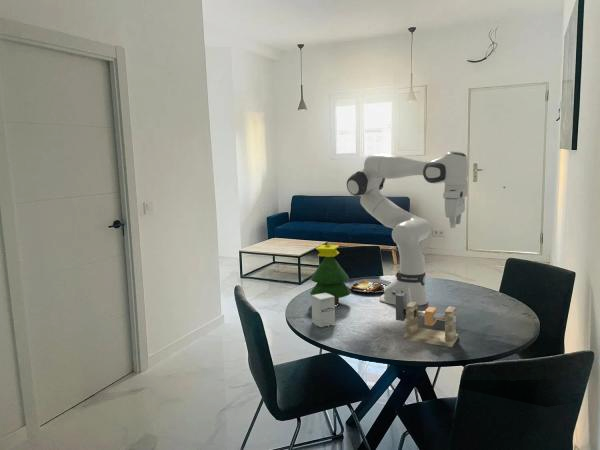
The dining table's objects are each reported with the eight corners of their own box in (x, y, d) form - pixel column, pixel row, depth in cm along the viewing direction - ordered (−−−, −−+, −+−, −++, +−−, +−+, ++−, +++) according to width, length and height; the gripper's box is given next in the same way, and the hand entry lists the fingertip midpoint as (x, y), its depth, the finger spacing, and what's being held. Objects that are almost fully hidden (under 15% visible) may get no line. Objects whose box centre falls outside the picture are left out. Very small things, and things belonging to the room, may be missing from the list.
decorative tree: (355, 300, 227) (354, 239, 223) (345, 313, 210) (343, 247, 205) (318, 297, 234) (316, 238, 230) (305, 309, 217) (302, 246, 212)
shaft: (395, 319, 182) (395, 295, 180) (399, 316, 185) (399, 292, 184) (453, 328, 170) (454, 302, 169) (456, 325, 174) (456, 299, 172)
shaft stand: (403, 339, 178) (403, 307, 176) (411, 330, 187) (411, 299, 185) (451, 347, 169) (452, 314, 167) (458, 337, 177) (458, 305, 175)
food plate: (382, 297, 229) (382, 290, 228) (340, 292, 241) (340, 286, 241) (400, 286, 250) (400, 279, 249) (360, 281, 262) (360, 275, 262)
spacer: (424, 324, 175) (424, 311, 175) (428, 320, 180) (428, 306, 179) (432, 326, 174) (432, 312, 173) (436, 321, 178) (436, 307, 178)
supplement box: (320, 329, 192) (319, 299, 190) (311, 323, 199) (310, 294, 197) (335, 325, 195) (334, 296, 194) (326, 320, 202) (325, 291, 200)
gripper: (453, 189, 200) (453, 221, 202) (442, 194, 183) (441, 229, 185) (469, 189, 197) (468, 222, 199) (458, 194, 180) (458, 230, 182)
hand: (455, 225), depth 192 cm, fingers open, 8 cm apart
